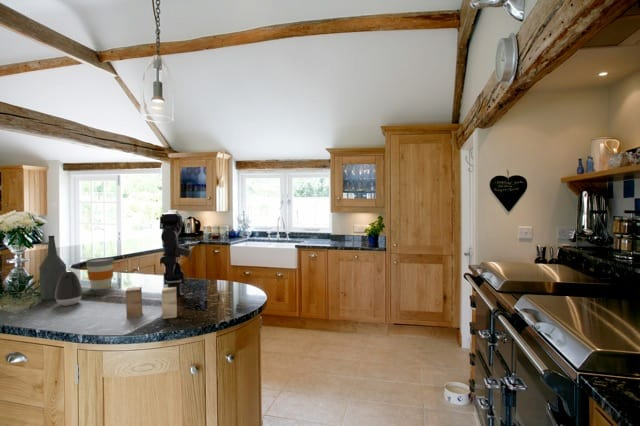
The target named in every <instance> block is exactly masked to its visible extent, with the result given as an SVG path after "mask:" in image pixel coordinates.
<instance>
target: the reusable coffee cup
mask: <svg viewBox="0 0 640 426" xmlns="http://www.w3.org/2000/svg"><path fill="white" fill-rule="evenodd" d="M114 263H115V262H114V258H113V257H96V258H89V259H87V260H86V268H87V271H86V273H87V279H88V280H89V283H90V284H89V285H90V289H91V290H104V289H109V288H111V286H112V279H113V276H114Z"/></svg>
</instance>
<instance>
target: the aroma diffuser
mask: <svg viewBox="0 0 640 426" xmlns="http://www.w3.org/2000/svg"><path fill="white" fill-rule="evenodd" d="M83 294H84V293H83V288H82V285H81V283H80V280H79V278H78V275H77V274H76V273H75V272H74V271H72V270H66V271H65V272H63V273H62V274H61V276H60V277H59V280H58V283H57V286H56V291H55V299H54V300H55V301H56V303H57V304H58V305H59V306H63V307H64V306H65V307H67V306H73V305H76V304H78V303H79V302H80V301H81V299H82V296H83Z"/></svg>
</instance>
